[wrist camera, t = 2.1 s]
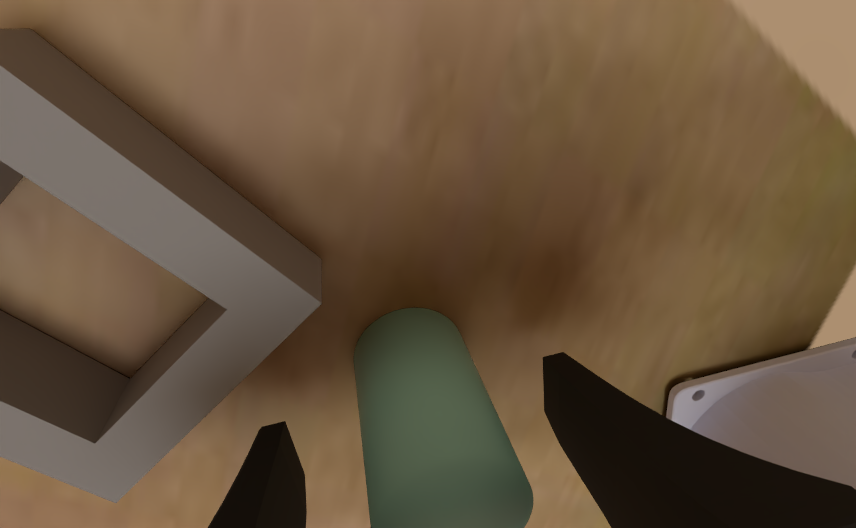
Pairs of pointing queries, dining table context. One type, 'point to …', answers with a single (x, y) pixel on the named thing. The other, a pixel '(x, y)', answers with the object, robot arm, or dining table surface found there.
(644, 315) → the dining table surface
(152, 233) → the socket
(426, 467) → the peg
